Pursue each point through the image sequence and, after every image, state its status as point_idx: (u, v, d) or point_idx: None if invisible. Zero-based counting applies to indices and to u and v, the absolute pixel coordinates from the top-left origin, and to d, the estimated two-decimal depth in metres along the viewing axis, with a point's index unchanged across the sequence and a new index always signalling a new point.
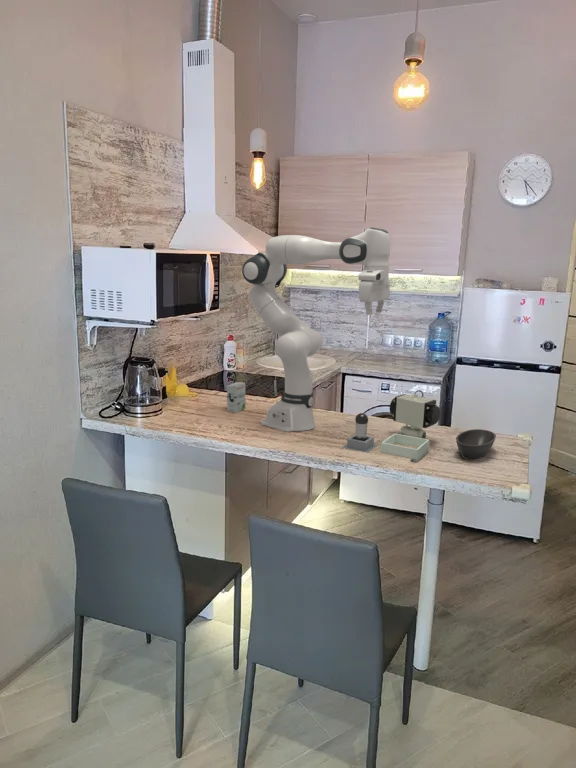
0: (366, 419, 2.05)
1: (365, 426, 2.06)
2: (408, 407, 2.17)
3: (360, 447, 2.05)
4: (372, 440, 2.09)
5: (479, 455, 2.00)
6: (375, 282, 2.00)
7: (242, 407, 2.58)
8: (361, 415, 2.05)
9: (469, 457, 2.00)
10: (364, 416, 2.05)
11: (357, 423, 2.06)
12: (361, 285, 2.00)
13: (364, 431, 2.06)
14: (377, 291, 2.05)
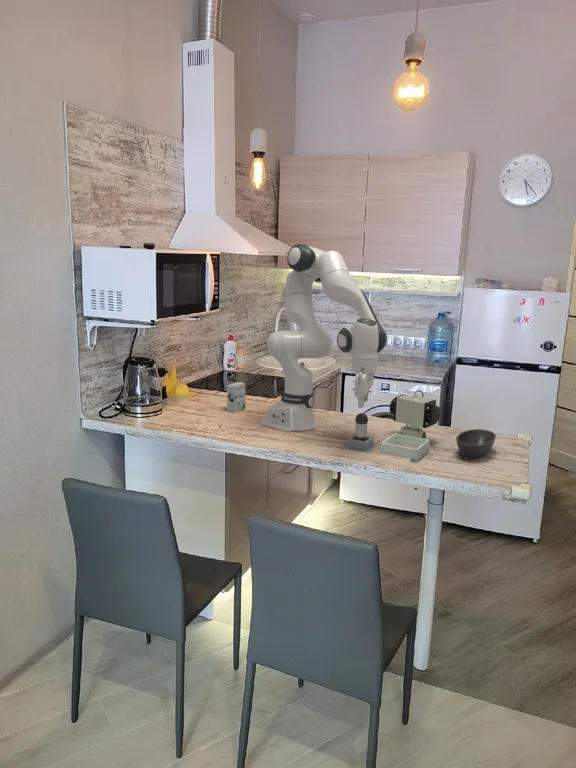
0: (366, 419, 2.05)
1: (365, 426, 2.06)
2: (408, 407, 2.17)
3: (360, 447, 2.05)
4: (372, 440, 2.09)
5: (479, 455, 2.00)
6: None
7: (242, 407, 2.58)
8: (361, 415, 2.05)
9: (469, 457, 2.00)
10: (364, 416, 2.05)
11: (357, 423, 2.06)
12: None
13: (364, 431, 2.06)
14: None
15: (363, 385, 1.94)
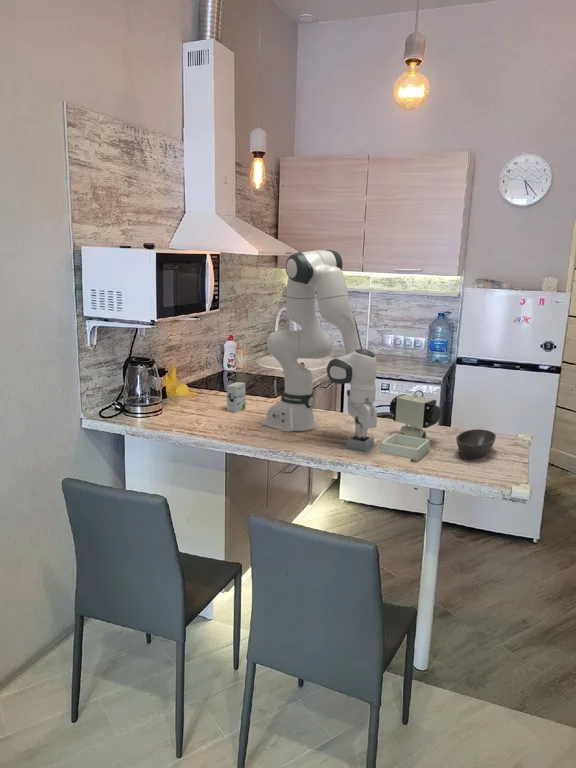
0: None
1: None
2: (408, 407, 2.17)
3: (360, 447, 2.05)
4: (372, 440, 2.09)
5: (479, 455, 2.00)
6: (349, 398, 2.11)
7: (242, 407, 2.58)
8: None
9: (470, 457, 2.00)
10: None
11: (357, 423, 2.06)
12: None
13: None
14: (355, 410, 2.07)
15: (375, 416, 1.97)
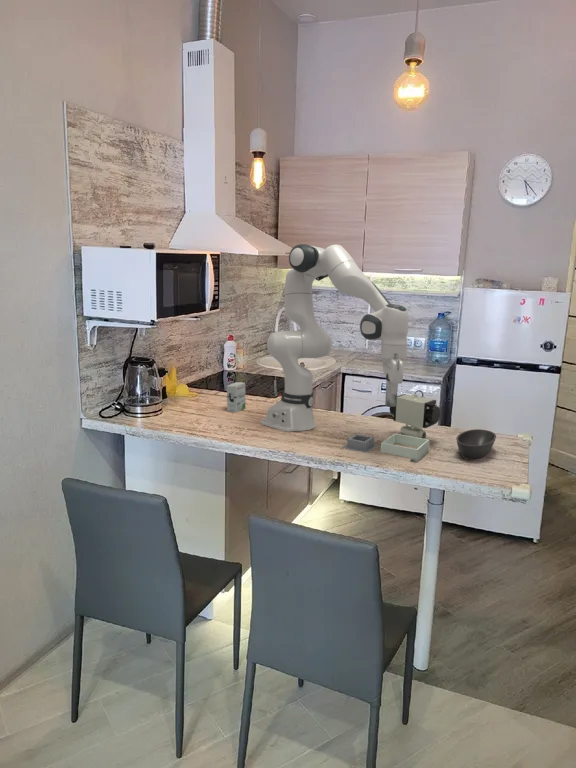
0: None
1: None
2: (408, 407, 2.17)
3: (360, 447, 2.05)
4: (372, 440, 2.09)
5: (479, 455, 2.00)
6: None
7: (242, 407, 2.58)
8: None
9: (470, 457, 2.00)
10: None
11: (387, 380, 2.01)
12: None
13: None
14: (387, 367, 2.02)
15: (401, 371, 1.91)
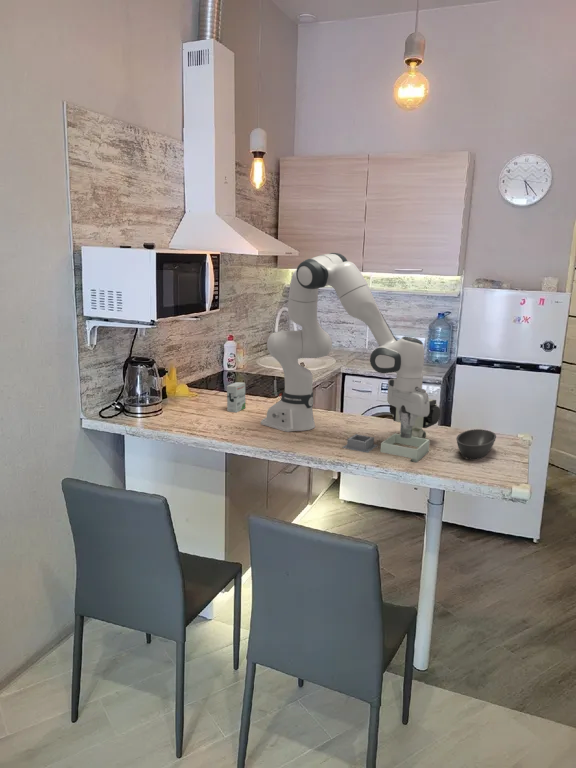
0: None
1: None
2: None
3: (360, 447, 2.05)
4: (372, 440, 2.09)
5: (480, 455, 2.00)
6: (391, 387, 2.05)
7: (242, 407, 2.58)
8: None
9: (470, 457, 2.00)
10: None
11: (404, 413, 2.01)
12: None
13: None
14: (400, 400, 2.02)
15: (428, 404, 1.93)
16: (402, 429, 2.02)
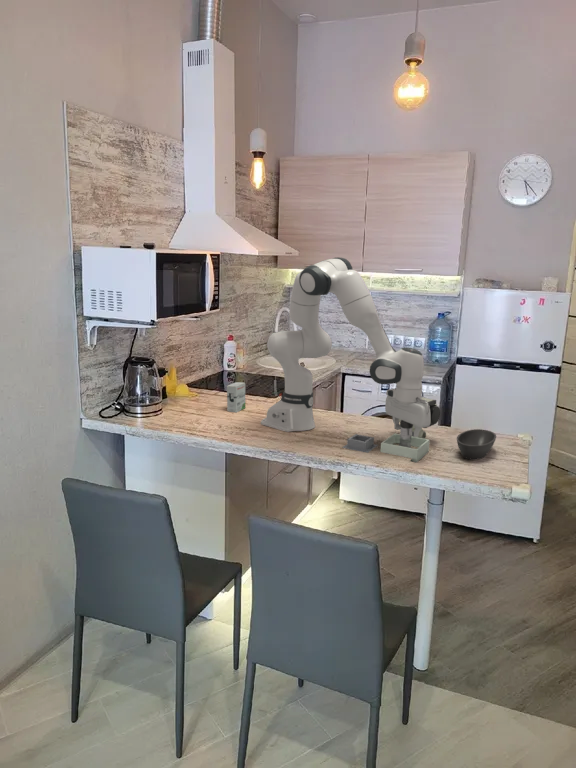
0: None
1: (411, 430, 2.03)
2: None
3: (360, 447, 2.05)
4: (372, 440, 2.09)
5: (480, 455, 2.00)
6: (390, 397, 2.06)
7: (242, 407, 2.58)
8: None
9: (470, 457, 2.00)
10: None
11: (403, 428, 2.02)
12: None
13: (410, 435, 2.03)
14: (399, 410, 2.03)
15: (429, 415, 1.95)
16: (401, 444, 2.04)
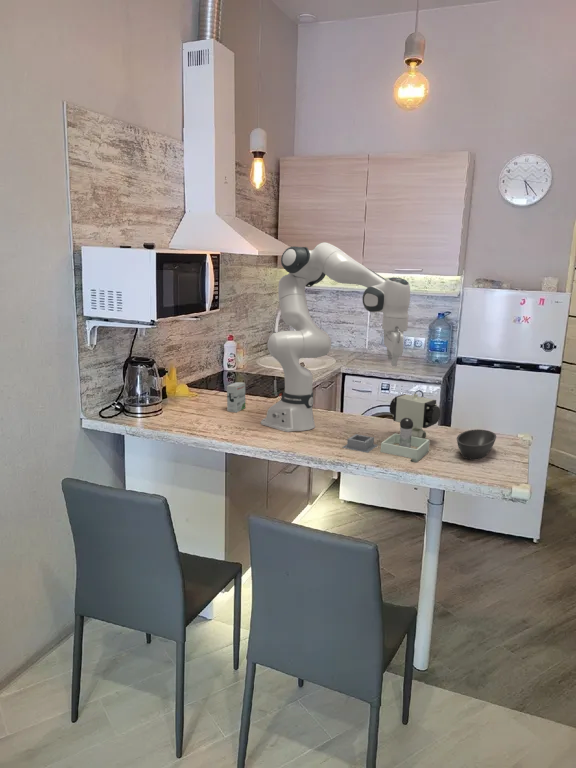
0: (412, 424, 2.02)
1: (411, 430, 2.03)
2: (408, 407, 2.17)
3: (360, 447, 2.05)
4: (372, 440, 2.09)
5: (480, 455, 2.00)
6: None
7: (242, 407, 2.58)
8: (407, 420, 2.02)
9: (470, 457, 2.00)
10: (410, 420, 2.02)
11: (403, 428, 2.02)
12: None
13: (410, 435, 2.03)
14: (387, 339, 2.08)
15: (402, 344, 1.97)
16: (401, 444, 2.04)
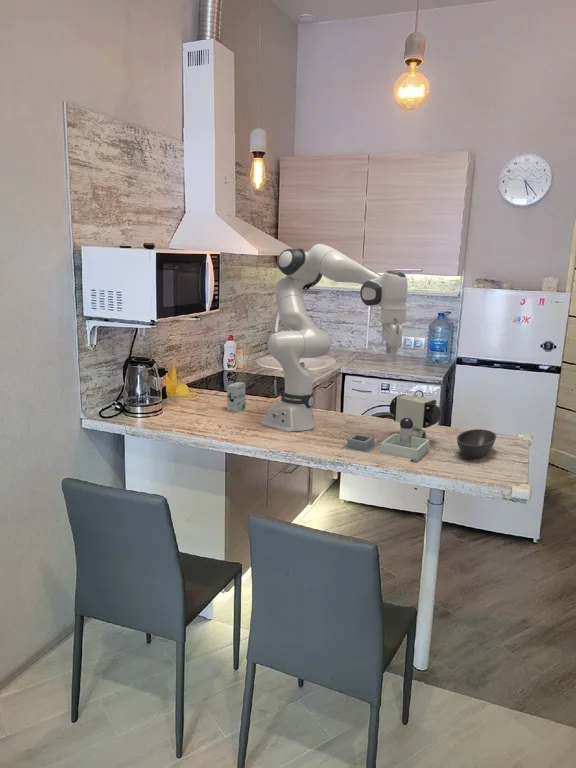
0: (412, 423, 2.02)
1: (411, 430, 2.03)
2: (408, 407, 2.17)
3: (360, 447, 2.05)
4: (372, 440, 2.09)
5: (480, 455, 2.00)
6: None
7: (242, 407, 2.58)
8: (407, 420, 2.02)
9: (470, 457, 2.00)
10: (410, 420, 2.02)
11: (403, 428, 2.02)
12: None
13: (410, 435, 2.03)
14: (386, 333, 2.09)
15: (401, 335, 1.98)
16: (401, 444, 2.04)
